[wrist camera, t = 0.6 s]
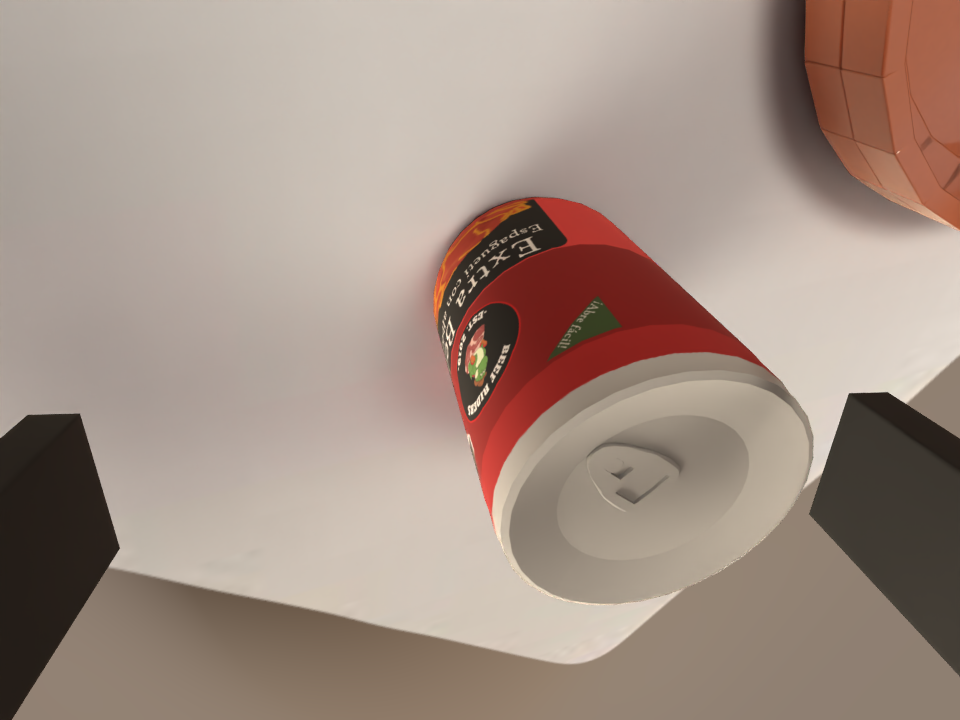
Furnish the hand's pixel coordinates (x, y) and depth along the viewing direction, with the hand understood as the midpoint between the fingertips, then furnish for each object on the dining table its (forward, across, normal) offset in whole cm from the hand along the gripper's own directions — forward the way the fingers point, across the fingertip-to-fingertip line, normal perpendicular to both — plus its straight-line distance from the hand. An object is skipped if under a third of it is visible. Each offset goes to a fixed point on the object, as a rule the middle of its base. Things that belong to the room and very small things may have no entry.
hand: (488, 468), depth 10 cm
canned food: (+13, +3, -1) cm, 13 cm away
